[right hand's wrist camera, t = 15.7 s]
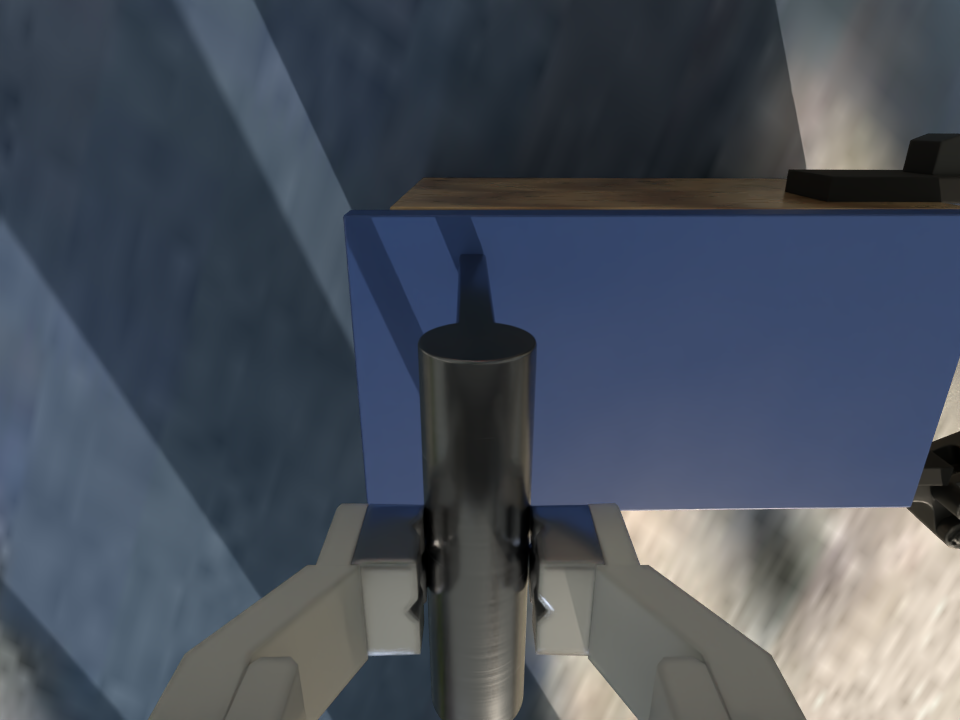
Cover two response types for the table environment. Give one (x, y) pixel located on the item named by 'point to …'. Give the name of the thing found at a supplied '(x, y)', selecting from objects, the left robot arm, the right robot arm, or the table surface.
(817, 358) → the lid
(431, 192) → the chest
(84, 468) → the table surface
